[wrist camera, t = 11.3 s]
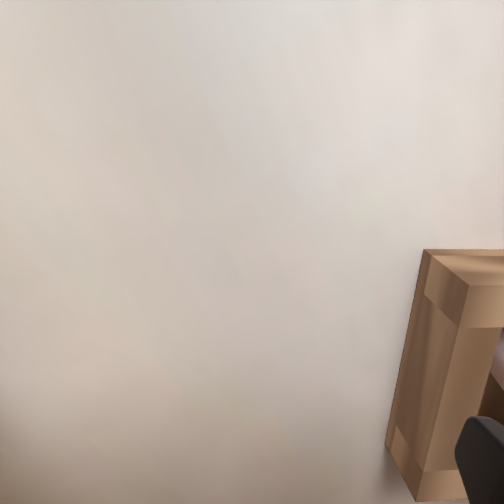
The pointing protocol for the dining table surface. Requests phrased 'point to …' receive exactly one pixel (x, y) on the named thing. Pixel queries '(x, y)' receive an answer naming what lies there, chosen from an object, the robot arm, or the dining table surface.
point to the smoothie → (499, 361)
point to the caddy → (447, 367)
